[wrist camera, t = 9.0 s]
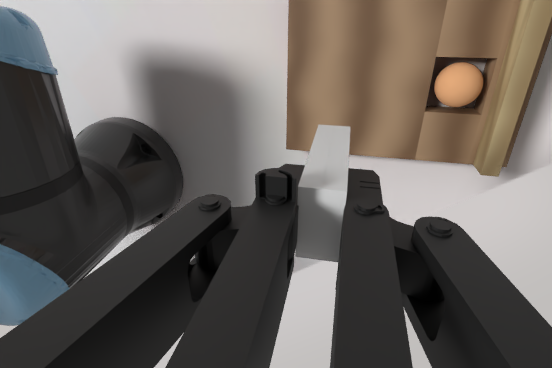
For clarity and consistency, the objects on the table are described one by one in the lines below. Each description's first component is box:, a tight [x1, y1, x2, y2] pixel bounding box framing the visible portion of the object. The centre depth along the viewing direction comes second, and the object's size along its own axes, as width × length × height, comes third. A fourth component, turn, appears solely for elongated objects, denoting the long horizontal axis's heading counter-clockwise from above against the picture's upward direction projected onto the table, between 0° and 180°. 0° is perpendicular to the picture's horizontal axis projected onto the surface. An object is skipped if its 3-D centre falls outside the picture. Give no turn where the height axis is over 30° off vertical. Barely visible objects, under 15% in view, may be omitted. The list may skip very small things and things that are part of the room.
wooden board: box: [286, 0, 552, 176], centre depth 32 cm, size 22×15×5 cm
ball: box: [434, 62, 483, 107], centre depth 31 cm, size 4×4×4 cm
